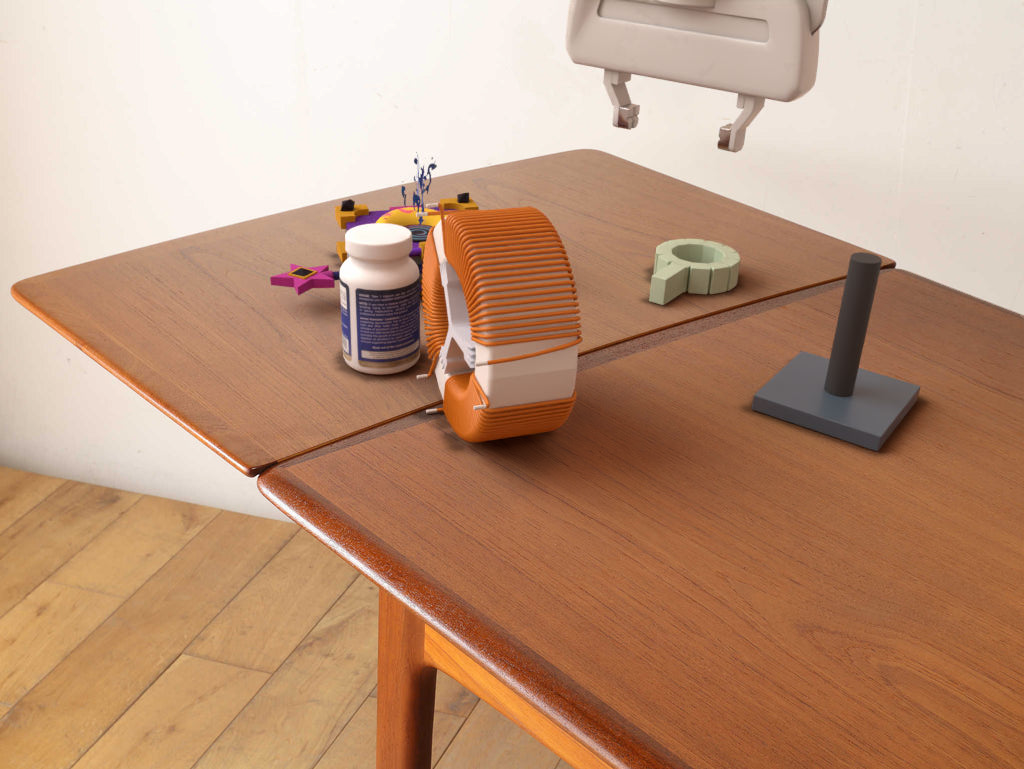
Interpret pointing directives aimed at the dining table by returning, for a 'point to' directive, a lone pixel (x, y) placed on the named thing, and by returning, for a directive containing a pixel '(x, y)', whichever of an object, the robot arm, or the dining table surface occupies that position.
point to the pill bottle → (380, 300)
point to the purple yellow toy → (361, 215)
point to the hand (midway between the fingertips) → (676, 138)
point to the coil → (500, 321)
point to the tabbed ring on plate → (692, 269)
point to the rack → (842, 376)
